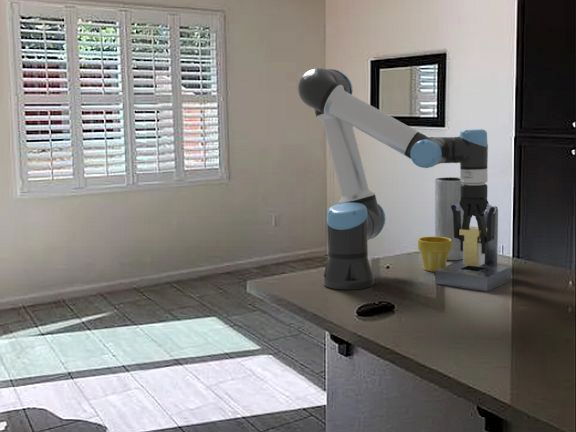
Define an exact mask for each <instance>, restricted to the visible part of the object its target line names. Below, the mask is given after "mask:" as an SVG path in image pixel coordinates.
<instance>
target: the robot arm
mask: <svg viewBox="0 0 576 432" xmlns="http://www.w3.org/2000/svg"><path fill="white" fill-rule="evenodd" d="M297 87H298V88H297V90H298V91H297V92H298V96H299V98H300V100H301V101H302V102H303V103H304V104H305V105H306V106H307V107H309V108H312V109H313V110H314V113H315V117H316V119H318V120H319V121H321V122H322V123H323V128H324V132H325V136H326V139H327V144H328V148H329V151H330V155H331V158H332V162H333V166H334V171H335V174H336V179H337V183H338V187H339V190H340V193H341V198H340V199H339V201H338V203H337V204H335V205H332V206H331V207H329V208H328V210H327V212H326V213H327V215H326V226H327V227H326V228H327V253H328V254H327V256H328V257H327V261H326V264H325V269H324V272H323V275H322V285H323V286H325V287H326V288H329V289H333V290H347V291H348V290H362V289H365V288H370V287H372V286H373V285H374V284H375V275H374V273H373V270H372V266H371V264H370V260H369V255H368V252H369V250H368V241H369V240H372V239H374V238H375V237H377V236H379V234H380V233H381V232H382V231H383V229H384V226H385V224H386V213H385V210H384V208H383V207H382V206H381V205H380V204H379V203H378V201H377V195H376V194H375V192H373V191H371V190H370V189H369V185H368V181H367V178H366V177H367V176H366V173H365V170H364V165H363V162H362V158H361V155H360V151H359V146H358V143H357V137H356V135H355V130H354V128H356V129H358V130H359V131H361V132H363V133H365V134H366V135H367V136H369V137H372V138H373V139H375V140H376V141H378V142H380V143H382V144H384V145H385V146H387V147H388V148H391V149H393V150H395V151H396V152H398V153H400V154H402V155H403V156H405V157H407V158H408V159H410V160H411V161H412V162H413V164H414V165H415V166H417V167H419V168H422V169H428V168H432V167H433V168H434V167H435V166H437V165H439V164H459V165H460V166H459V167H460V170H459V171H460V172H459V173H460V177H459V178H460V182H461V183H463V184H462V185H461V186H460V196H461V200H460V202H459V203H458V204H455V205H452V206H451V209H452V212H453V225H454V238H457V239H459V240H460V250H461V251H463V259H462V260H463V263H464V235H459V229H461V212H460V210H461V208H462V209H463V211H464V214H463V223H462V228H463V229H466V228H469V226H470V225H471V221H472V218H473V217H475V218H474V219H475V220H476V224H477V227H478V229H479V230H482V236H480V240H481V241H480V243H478V265H483V264H485V254H486V253H487V252H488V241H491V240H494V234H495V214H496V212H497V209H498V210H499V208H498V206H496V205H495V206H494V205H491V204H489V201H488V185H487V183H488V180H489V178H488V160H489V159H488V157H489V156H488V154H489V153H488V152H489V144H488V132H487V131H486V130H485V129H483V128H481V129H478V128H476V129H462V130H460V133H459V136H454V137H453V136H452V137H451V136H448V137H447V136H445V137H443V136H442V137H441V136H439V137H437V136H436V137H435V136H434V137H433V136H430V137H429V136H427V135H425V134H423V133H422V132H420V131H417V130H416V129H414V128H412V127H411V126H410V125H407V124H405V123H403V122H401V121H400V120H398V119H396V118H395V117H392V116H391V115H389V114H388V113H386V112H384V111H381V110H380V109H378V108H377V107H375V106H373V105H371V104H369V103H367V102H365V100H364V101H363V100H362V99H360V98H358V97H356V96H354V95H353V84H352V82H351V80H350V78H349V77H348V76H347V75H346V74H345V73H344V72H342V71H340V70H338V69H337V70H336V69H332V68H329V69H327V68H319V67H316V68H312V69H309V70H307V71H305V72H304V73H303V74H302V76H301V77H300V79H299V82H298V86H297ZM486 209H487V212H488V218H487V230H486V225H485V220H484V218H485V215H484V211H485V210H486Z"/></svg>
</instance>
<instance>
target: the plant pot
mask: <svg viewBox="0 0 576 432" xmlns="http://www.w3.org/2000/svg"><path fill="white" fill-rule="evenodd" d="M417 249H418V251H419V252H420V257H421V263H422V267H423V270H424V271H428V272H435V270H437V269H439V268H442V267H445V266H447V262H448V260H447V257H448V253H449V251H450V250H451V239H449V238H446V237H435V236H422V237H419V238H417Z"/></svg>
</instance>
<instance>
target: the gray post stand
mask: <svg viewBox="0 0 576 432" xmlns="http://www.w3.org/2000/svg"><path fill="white" fill-rule="evenodd" d="M484 215H485V218H484V220H485V225H486V228H487V218H488V212H487V209H486V210H485V211H484ZM498 236H499V208H498V209H497V212H496V214H495V234H494V240H491V241H488V252H487V253H486V254H485V264H483V265H480V266H469V265H464V263H463V259H461V260H456V261H454V262H453V263H450V264H446V266H445V267H442V268H439V269H437V270H435V271H434V273H435V274H434V281H435V285H443V286H447V287H448V286H449V287H455V288H456V287H457V288H460V289H461V288H463V289H468V290H474V291H475V290H476V291H481V292H490V291H491V290H493V289H495V288H497V287H499V286H501V285H503V284H505V283H507V282H509V281H511V279H512V278H511V277H512V272H511V271H512V266H509V265H503V264H498V257H499V256H498V254H499V253H498V252H499V251H498V250H499V249H498V248H499V247H498V246H499V245H498V242H499V241H498V240H499V237H498Z"/></svg>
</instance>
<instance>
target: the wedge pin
mask: <svg viewBox="0 0 576 432" xmlns="http://www.w3.org/2000/svg"><path fill="white" fill-rule="evenodd" d="M486 230H487V228H486ZM459 235H464V265H469V266H480V265H478V243H480V241H481V240H480V236H482V230H479V229H478V226H469V228H466V229H463V228H462V229H459Z"/></svg>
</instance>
